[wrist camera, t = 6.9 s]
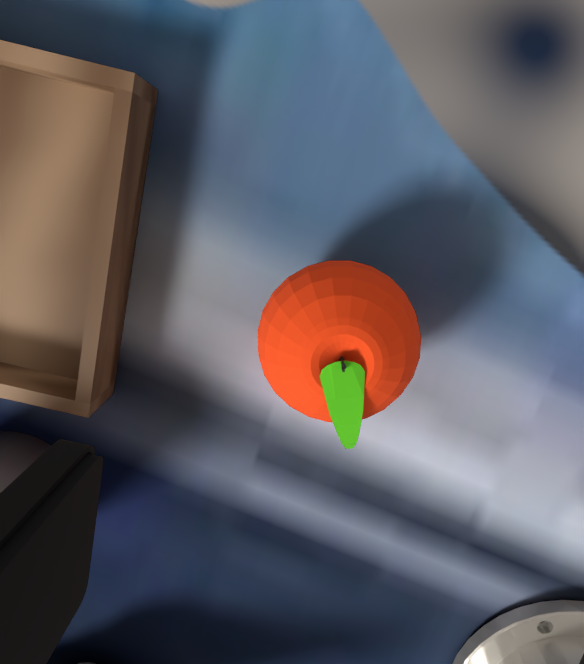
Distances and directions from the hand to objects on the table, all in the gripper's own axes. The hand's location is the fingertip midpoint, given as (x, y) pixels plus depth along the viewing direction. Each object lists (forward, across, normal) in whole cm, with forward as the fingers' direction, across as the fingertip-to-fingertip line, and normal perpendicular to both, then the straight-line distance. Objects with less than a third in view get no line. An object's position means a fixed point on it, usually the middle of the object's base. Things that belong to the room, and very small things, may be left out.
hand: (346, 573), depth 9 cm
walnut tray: (+16, +17, -2) cm, 24 cm away
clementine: (+17, 0, 0) cm, 17 cm away
